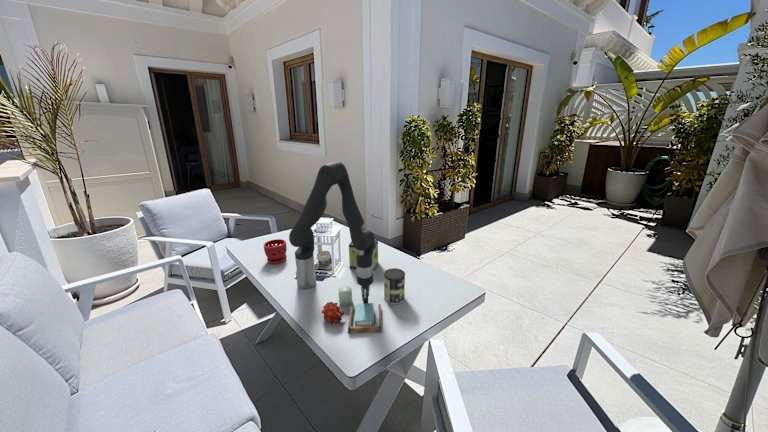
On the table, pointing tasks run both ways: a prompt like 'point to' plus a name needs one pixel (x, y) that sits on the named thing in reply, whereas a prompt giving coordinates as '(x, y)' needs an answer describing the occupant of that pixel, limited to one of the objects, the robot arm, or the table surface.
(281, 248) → the plant pot
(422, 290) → the table surface
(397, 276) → the coffee can
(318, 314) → the table surface
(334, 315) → the dragon fruit
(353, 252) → the protein box
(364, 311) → the teal carton
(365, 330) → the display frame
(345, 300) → the pale green dome
